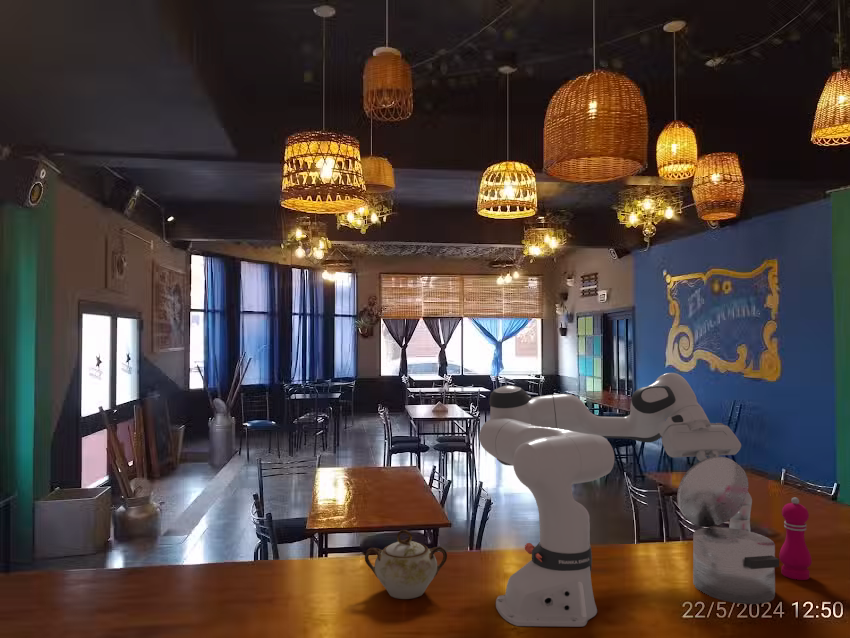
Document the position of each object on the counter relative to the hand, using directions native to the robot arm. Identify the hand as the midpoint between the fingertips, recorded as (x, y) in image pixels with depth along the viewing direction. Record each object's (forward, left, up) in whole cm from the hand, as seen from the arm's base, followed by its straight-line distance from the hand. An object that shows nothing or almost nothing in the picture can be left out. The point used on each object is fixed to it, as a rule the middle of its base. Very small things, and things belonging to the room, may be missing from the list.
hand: (714, 468), depth 167 cm
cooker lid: (0, 0, -6) cm, 6 cm away
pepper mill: (+21, -3, -28) cm, 35 cm away
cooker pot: (0, -8, -28) cm, 29 cm away
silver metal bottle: (+19, +16, -28) cm, 37 cm away
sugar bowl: (-79, +4, -28) cm, 84 cm away
